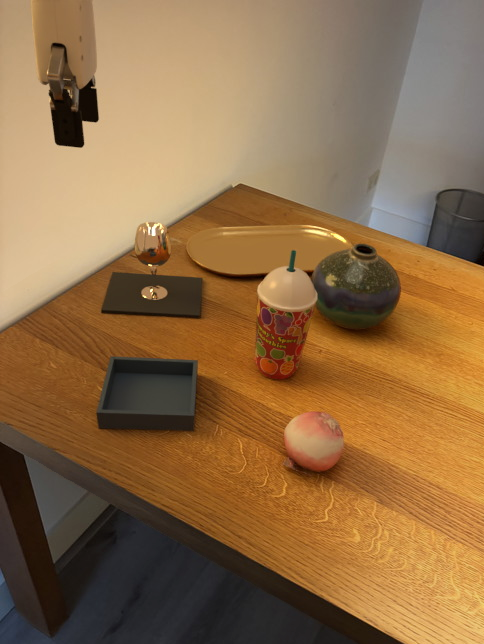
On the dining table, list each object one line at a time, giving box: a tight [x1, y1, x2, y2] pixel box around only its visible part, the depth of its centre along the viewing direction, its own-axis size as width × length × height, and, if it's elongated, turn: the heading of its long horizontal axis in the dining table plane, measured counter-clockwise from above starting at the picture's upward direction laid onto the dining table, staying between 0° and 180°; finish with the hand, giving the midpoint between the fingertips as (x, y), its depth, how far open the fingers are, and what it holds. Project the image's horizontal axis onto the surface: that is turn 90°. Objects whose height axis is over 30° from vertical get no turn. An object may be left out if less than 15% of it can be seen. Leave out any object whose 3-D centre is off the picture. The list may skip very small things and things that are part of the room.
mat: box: [100, 271, 204, 319], centre depth 94 cm, size 16×12×1 cm
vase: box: [310, 243, 402, 331], centre depth 93 cm, size 15×15×13 cm
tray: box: [96, 355, 199, 432], centre depth 74 cm, size 12×11×3 cm
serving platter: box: [185, 224, 354, 278], centre depth 110 cm, size 19×35×2 cm, turn 108°
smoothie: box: [254, 250, 317, 381], centre depth 77 cm, size 8×8×20 cm
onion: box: [282, 410, 345, 477], centre depth 68 cm, size 8×8×7 cm
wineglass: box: [134, 221, 172, 300], centre depth 90 cm, size 6×6×12 cm
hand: (78, 132), depth 67 cm, fingers open, 9 cm apart
